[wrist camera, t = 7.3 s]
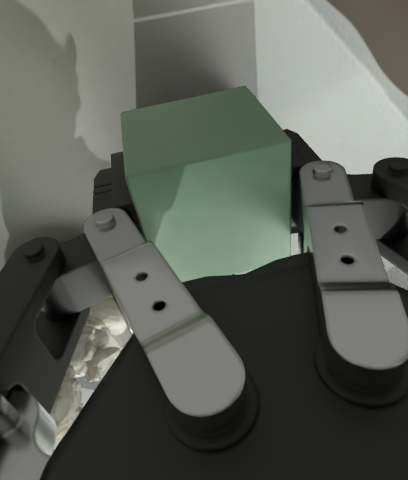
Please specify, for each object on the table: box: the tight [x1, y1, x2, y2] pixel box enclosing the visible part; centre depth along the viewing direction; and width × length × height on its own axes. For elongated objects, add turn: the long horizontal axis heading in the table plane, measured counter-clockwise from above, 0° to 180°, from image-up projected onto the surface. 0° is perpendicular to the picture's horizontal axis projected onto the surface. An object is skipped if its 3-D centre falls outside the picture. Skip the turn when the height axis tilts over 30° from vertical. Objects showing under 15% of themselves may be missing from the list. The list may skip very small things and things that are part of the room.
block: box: [121, 86, 291, 282], centre depth 13 cm, size 4×4×4 cm
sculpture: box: [38, 295, 132, 440], centre depth 49 cm, size 21×20×25 cm
